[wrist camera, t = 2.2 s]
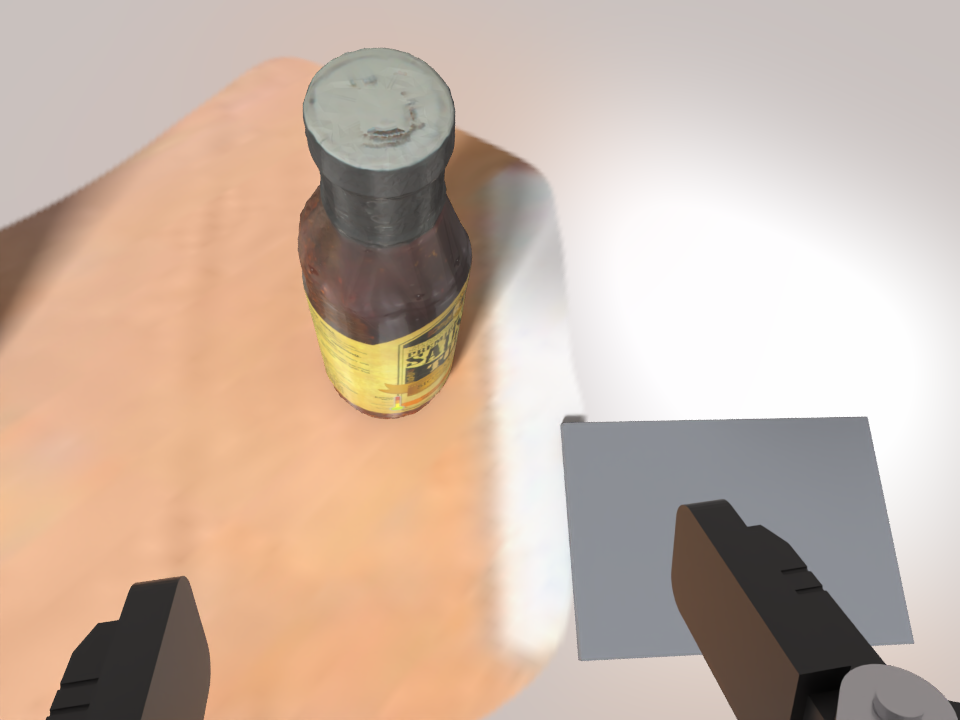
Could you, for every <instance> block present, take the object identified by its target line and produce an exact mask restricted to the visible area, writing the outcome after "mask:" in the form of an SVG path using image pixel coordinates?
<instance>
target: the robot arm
mask: <svg viewBox="0 0 960 720" xmlns="http://www.w3.org/2000/svg"><path fill="white" fill-rule="evenodd" d="M671 583H672V590H673V594H674V598H675V602H676V605H677V607H678V610H679V612H680V614H681V616H682V617H683V619H684V621H685V623H686V625H687V627H688V629H689V630H690V632H691V634H692V636H693V638H694V640H695V642H696V643H697V645H698V647H699V649H700V651H701V653H702V655H703V656H704V658H705V660H706V662H707V664H708V666H709V667H710V669H711V671H712V673H713V675H714V677H715V678H716V680H717V682H718V684H719V686H720V688H721V690H722V692H723V693H724V695H725V697H726V699H727V701H728V703H729V705H730V706H731V708H732V710H733V712H734V714H735V716H736V717H737V719H738V720H960V703H959V702H953V701H949V700H947V699H946V698H945V697H944V695H943V694H942V693H941V692H940V691H939V690H938V689H937V688H935V687H934V686H933V685H931V684H930V683H929V682H927V681H926V680H924V679H923V678H921V677H919V676H917V675H915V674H913V673H911V672H909V671H907V670H904V669H901V668H898V667H894V666H890V665H886V664H885V663H884V662H883V661H882V659H881V658H880V657H879V655H878V654H877V653H876V652H875V650H874V649H873V648H872V647H871V645H870V644H869V643H868V642H867V640H866V639H865V638H864V637H863V635H862V634H861V633H860V632H859V630H858V629H857V628H856V627H855V625H854V624H853V623H852V622H851V620H850V619H849V618H848V617H847V615H846V614H845V613H844V612H843V610H842V609H841V608H840V607H839V605H838V604H837V603H836V602H835V600H834V599H833V598H832V597H831V595H830V594H829V593H828V592H827V590H826V591H824V590H823V585H822V584H821V583H820V582H819V580H818V579H817V578H816V577H815V575H814V574H813V573H812V572H811V571H808V569H807V565H806V564H805V563H804V562H803V560H802V559H801V558H800V557H799V555H798V554H797V553H796V552H795V550H794V549H793V548H792V547H791V545H790V544H789V543H788V542H786V541H785V540H783V539H782V538H780V537H779V536H777V535H776V534H774V533H773V532H771V531H770V530H768V529H767V528H765V527H764V526H762V525H755V526H748V527H747V525H746V524H745V523H744V521H743V520H742V519H741V517H740V516H739V515H738V513H737V512H736V511H735V509H734V508H733V507H732V505H731V504H730V503H729V502H728V501H727V500H725V499H718V500H711V501H704V502H697V503H691V504H684V505H680V506H679V508H678V510H677V514H676V523H675V535H674V546H673V557H672V568H671ZM60 686H61V688H60V690H58V691H57V693H56V696H55V698H54V701H53V703H52V706H51V708H50V716H49V717H47V718H46V720H203V719H204V714H205V708H206V703H207V698H208V692H209V686H210V655H209V648H208V644H207V640H206V637H205V634H204V630H203V627H202V623H201V620H200V616H199V613H198V610H197V606H196V603H195V599H194V596H193V592H192V589H191V586H190V583H189V581H188V579H187V578H186V577H185V576H180V577H173V578H166V579H159V580H153V581H146V582H139V583H135V584H133V585H132V586H131V588H130V590H129V593H128V596H127V598H126V601H125V604H124V607H123V610H122V613H121V616H120V619H119V620H117V621H110V622H103V623H98V624H97V625H96V626H95V627H94V629H93V630H92V631H91V632H90V633H89V634H88V635H87V637H86V638H85V639H84V640H83V641H82V642H81V644H80V645H79V646H78V647H77V648H76V649H75V650H74V652H73V653H72V656H71V658H70V661H69V663H68V666H67V668H66V671H65V673H64V676H63V678H62V681H61V683H60Z"/></svg>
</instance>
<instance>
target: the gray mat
mask: <svg viewBox="0 0 960 720" xmlns="http://www.w3.org/2000/svg"><path fill="white" fill-rule="evenodd" d="M561 438H562V451H563V464H564V477H565V490H566V503H567V516H568V529H569V542H570V556H571V569H572V582H573V595H574V606H575V607H574V608H575V621H576V632H577V645H578V658H579V660H580V661H589V660H608V659H628V658H647V657H667V656H685V655H702V653H701V651H700V649H699V647H698V645H697V643H696V642H695V640H694V638H693V636H692V634H691V632H690V630H689V629H688V627H687V625H686V623H685V621H684V619H683V617H682V616H681V614H680V612H679V610H678V607H677V605H676V602H675V598H674V594H673V590H672V583H671V568H672V557H673V546H674V535H675V523H676V514H677V510H678V508H679V506H680V505H684V504H691V503H697V502H704V501H711V500H718V499H725V500H727V501H728V502H729V503H730V504H731V505H732V507H733V508H734V509H735V511H736V512H737V513H738V515H739V516H740V517H741V519H742V520H743V521H744V523H745V524H746V525H747V527H748V526H755V525H762V526H764V527H765V528H767V529H768V530H770V531H771V532H773V533H774V534H776V535H777V536H779V537H780V538H782V539H783V540H785V541H786V542H788V543H789V544H790V545H791V547H792V548H793V549H794V550H795V552H796V553H797V554H798V555H799V557H800V558H801V559H802V560H803V562H804V563H805V564H806V565H807V569H808V571H811V572H812V573H813V574H814V575H815V577H816V578H817V579H818V580H819V582H820V583H821V584H822V585H823V590H824V591H826V590H827V592H828V593H829V594H830V595H831V597H832V598H833V599H834V600H835V602H836V603H837V604H838V605H839V607H840V608H841V609H842V610H843V612H844V613H845V614H846V615H847V617H848V618H849V619H850V620H851V622H852V623H853V624H854V625H855V627H856V628H857V629H858V630H859V632H860V633H861V634H862V635H863V637H864V638H865V639H866V640H867V642H868V643H869V644H870V645H871V646H878V645H897V644H914V640H913V635H912V630H911V626H910V621H909V616H908V611H907V606H906V601H905V597H904V592H903V587H902V582H901V577H900V573H899V568H898V563H897V558H896V553H895V548H894V543H893V538H892V534H891V529H890V524H889V519H888V515H887V510H886V505H885V500H884V495H883V490H882V485H881V481H880V476H879V471H878V466H877V462H876V456H875V451H874V447H873V442H872V437H871V432H870V427H869V423H868V418H867V417H830V418H780V419H736V420H735V419H734V420H733V419H731V420H730V419H729V420H679V421H635V422H634V421H633V422H632V421H629V422H578V423H562V424H561Z"/></svg>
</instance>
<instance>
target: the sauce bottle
mask: <svg viewBox="0 0 960 720" xmlns="http://www.w3.org/2000/svg"><path fill="white" fill-rule="evenodd" d="M303 119H304V124H305V134H306V137H307V141H308V147H309V150H310V153H311V156H312V158H313V160H314V162H315V163H316V165H317V167H318V168H319V171H320V175H321V181H320V185H319V186H318V187H317V189H316V190H315V192H314V193H313V194H312V196H311V198H310V199H309V200H308V201H307V202H306V205H305V207H304V209H303V210H302V212H301V214H300V223H299V236H298V252H299V258H300V263H301V267H302V278H303V285H304V289H305V293H306V297H307V301H308V305H309V309H310V312H311V316H312V319H313V323H314V327H315V331H316V335H317V339H318V343H319V346H320V350H321V354H322V357H323V361H324V365H325V369H326V373H327V375H328V377H329V379H330V380H331V382H332V383H333V385H334V388H335V389H336V391H337V392H338V393H339V395H340V397H342V398H343V399H344V400H346V402H348V403H349V404H350V405H351V406H353V407H354V408H355V409H357V410H359V411H360V412H362V413H364V414H367V415H369V416H371V417H376V418H382V419H390V418H392V419H393V418H399V417H404V416H406V415H410V414H414V413H416V412H418V411H419V410H420V409H422V408H423V407H424V406H425V405H427V404H428V403H429V402H430V401H431V400H432V399H433V397H434V396H435V395H436V394H437V393H438V392H440V389H441V388H442V386H443V385H444V383H445V382H446V380H447V378H448V376H449V373H450V370H451V367H452V362H453V357H454V352H455V347H456V342H457V337H458V331H459V326H460V321H461V316H462V312H463V306H464V300H465V294H466V289H467V284H468V280H469V274H470V268H471V262H472V250H471V244H470V240H469V237H468V234H467V232H466V231H465V229H464V227H463V226H462V224H461V223H460V221H459V219H458V217H457V215H456V213H455V211H454V209H453V207H452V205H451V203H450V200H449V198H448V196H447V194H446V186H445V181H444V172H445V167H446V166H447V164H448V162H449V159H450V157H451V155H452V152H453V149H454V142H455V108H454V101H453V99H452V96H451V92H450V89H449V87H448V86H447V85H446V83H445V82H444V80H443V79H442V78H441V77H440V76H439V74H438V73H437V72H436V71H435V70H434V69H433V68H431V67H430V66H429V65H428V64H427V63H426V62H424V61H423V60H421V59H419V58H416V57H414V56H413V55H411V54H409V53H406V52H402V51H398V50H394V49H388V48H371V49H370V48H364V49H360V50H357V51H354V52H348V53H345V54H343V55H341V56H340V57H337V58H335V59H333V60H331V61H330V62H329V63H327V64H326V65H325V66H324V67H323V68H321V69H320V70H319V71H318V72H317V73H316V75H315V76H314V77H313V79H312V81H311V83H310V85H309V87H308V90H307V93H306V96H305V99H304V102H303Z"/></svg>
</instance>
